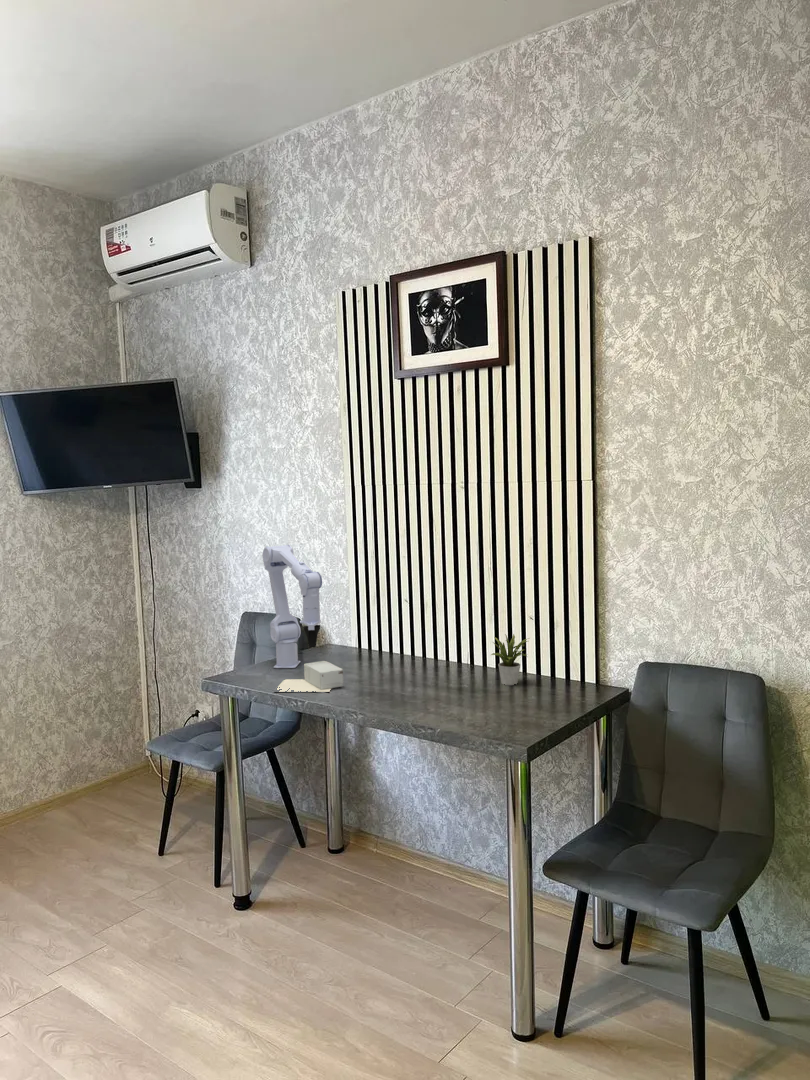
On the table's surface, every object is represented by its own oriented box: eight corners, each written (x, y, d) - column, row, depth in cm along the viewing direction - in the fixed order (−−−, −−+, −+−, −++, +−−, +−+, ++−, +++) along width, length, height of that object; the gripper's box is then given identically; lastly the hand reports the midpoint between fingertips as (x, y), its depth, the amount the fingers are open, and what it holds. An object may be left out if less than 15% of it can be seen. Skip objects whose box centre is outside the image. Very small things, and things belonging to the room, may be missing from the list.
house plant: (537, 689, 250) (536, 638, 249) (493, 690, 250) (492, 639, 249) (529, 678, 265) (529, 629, 263) (488, 679, 265) (487, 630, 263)
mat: (284, 680, 269) (284, 679, 269) (337, 680, 267) (337, 679, 267) (273, 693, 254) (273, 691, 254) (329, 693, 252) (329, 691, 252)
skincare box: (304, 680, 267) (319, 691, 254) (303, 662, 267) (318, 672, 253) (327, 676, 271) (343, 687, 258) (327, 659, 270) (343, 669, 257)
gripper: (300, 604, 278) (301, 643, 279) (298, 611, 264) (299, 652, 265) (320, 603, 279) (321, 642, 280) (319, 611, 264) (321, 651, 265)
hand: (312, 647), depth 272 cm, fingers closed
